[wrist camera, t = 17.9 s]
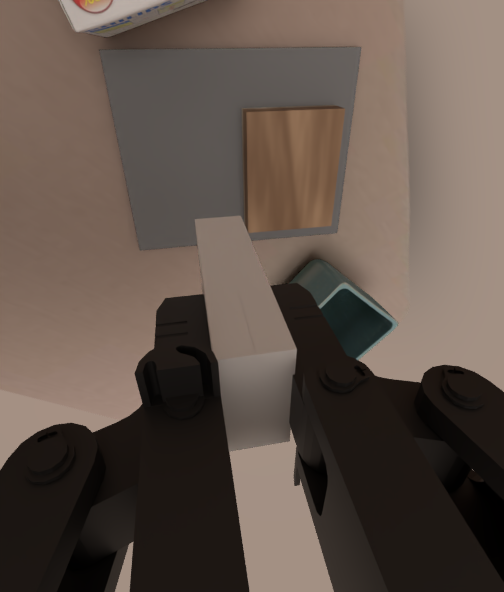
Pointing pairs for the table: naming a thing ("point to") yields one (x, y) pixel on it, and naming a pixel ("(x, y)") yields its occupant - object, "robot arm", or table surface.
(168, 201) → the mat
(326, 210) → the walnut tile
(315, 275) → the flower pot
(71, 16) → the light bulb box
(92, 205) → the table surface
